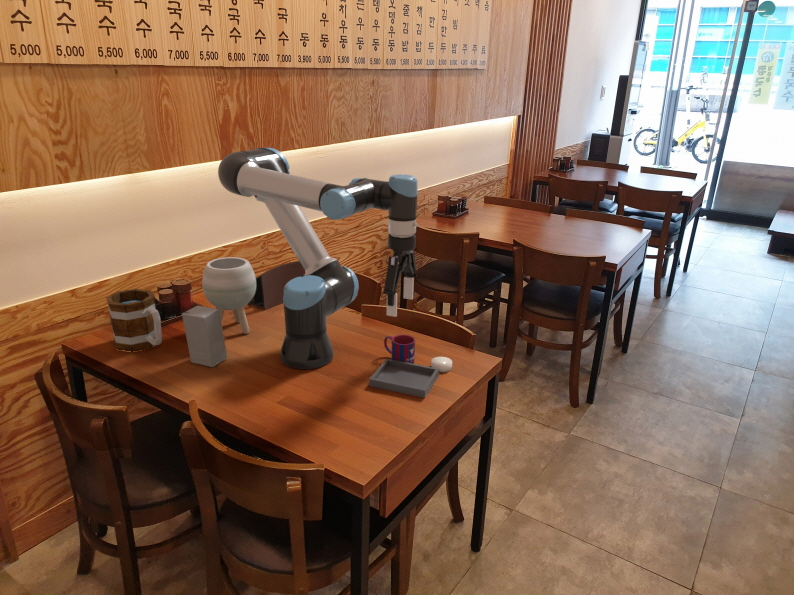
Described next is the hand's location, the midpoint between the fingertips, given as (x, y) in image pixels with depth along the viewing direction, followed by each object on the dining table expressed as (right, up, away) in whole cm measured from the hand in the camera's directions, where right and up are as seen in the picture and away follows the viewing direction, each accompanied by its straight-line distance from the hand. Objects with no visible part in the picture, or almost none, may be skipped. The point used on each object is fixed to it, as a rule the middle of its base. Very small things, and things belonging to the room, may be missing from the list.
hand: (400, 306), depth 164 cm
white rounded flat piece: (+12, -17, +2) cm, 21 cm away
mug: (-77, -12, +11) cm, 79 cm away
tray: (+1, -20, -6) cm, 21 cm away
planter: (-53, -8, +23) cm, 58 cm away
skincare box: (-55, -16, +2) cm, 57 cm away
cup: (0, -16, +6) cm, 17 cm away
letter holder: (-45, +2, +48) cm, 66 cm away
